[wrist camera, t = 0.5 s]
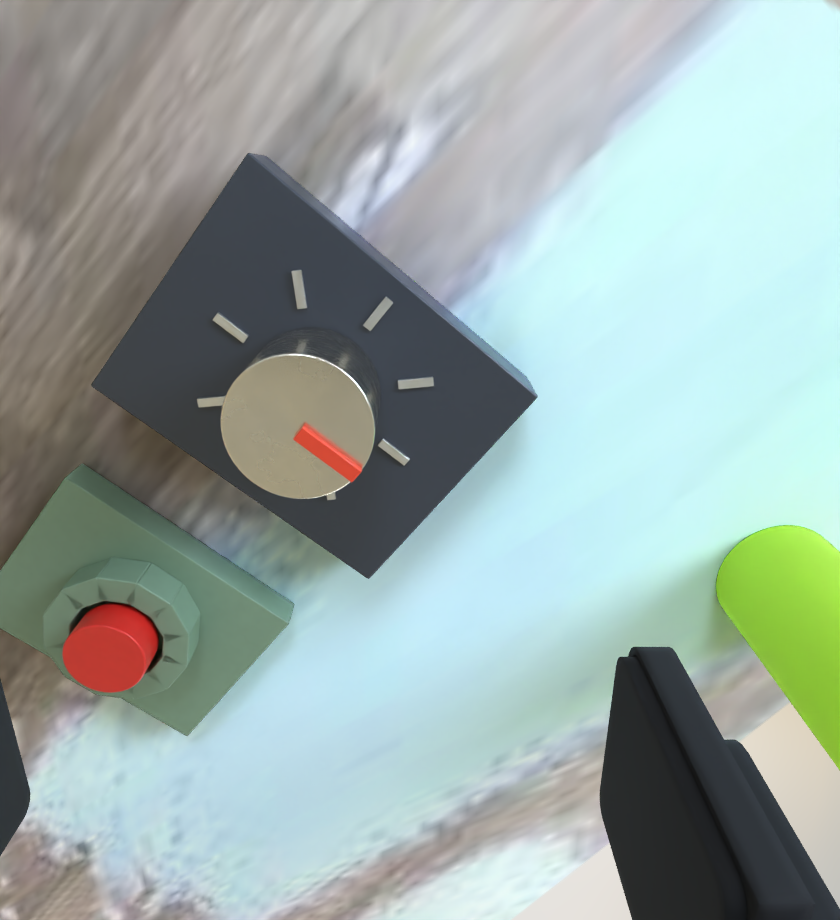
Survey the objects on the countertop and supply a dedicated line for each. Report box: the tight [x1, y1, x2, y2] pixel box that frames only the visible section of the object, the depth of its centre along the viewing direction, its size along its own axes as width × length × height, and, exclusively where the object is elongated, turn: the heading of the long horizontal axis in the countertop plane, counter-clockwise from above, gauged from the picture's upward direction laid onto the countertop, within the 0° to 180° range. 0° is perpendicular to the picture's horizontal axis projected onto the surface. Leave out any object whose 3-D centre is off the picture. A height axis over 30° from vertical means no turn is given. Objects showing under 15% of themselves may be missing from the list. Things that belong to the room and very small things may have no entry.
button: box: [62, 603, 159, 693], centre depth 31 cm, size 4×4×2 cm
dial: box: [221, 327, 381, 499], centre depth 25 cm, size 5×5×5 cm
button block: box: [0, 464, 294, 736], centre depth 33 cm, size 12×9×4 cm
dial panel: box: [91, 153, 537, 579], centre depth 29 cm, size 14×11×3 cm
